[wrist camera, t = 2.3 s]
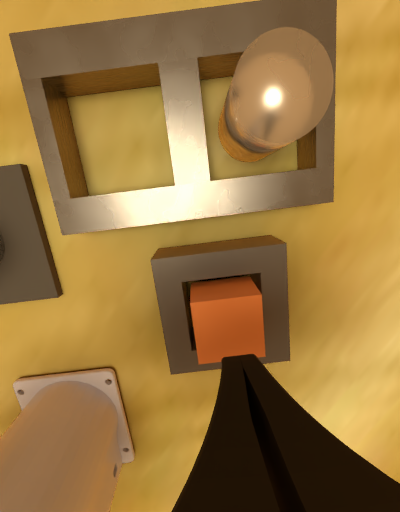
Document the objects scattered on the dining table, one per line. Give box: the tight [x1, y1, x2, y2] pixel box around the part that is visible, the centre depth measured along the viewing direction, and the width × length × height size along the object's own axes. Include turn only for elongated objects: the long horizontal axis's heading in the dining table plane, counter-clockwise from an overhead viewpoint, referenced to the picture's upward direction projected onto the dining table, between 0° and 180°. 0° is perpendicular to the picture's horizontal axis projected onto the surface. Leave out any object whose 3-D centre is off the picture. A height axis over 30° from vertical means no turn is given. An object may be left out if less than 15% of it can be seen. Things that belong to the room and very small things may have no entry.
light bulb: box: [218, 27, 334, 162], centre depth 12 cm, size 4×4×6 cm
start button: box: [190, 276, 266, 364], centre depth 15 cm, size 4×4×3 cm
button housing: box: [151, 235, 290, 374], centre depth 17 cm, size 8×8×3 cm
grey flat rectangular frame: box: [9, 0, 337, 235], centre depth 14 cm, size 10×16×2 cm, turn 97°
